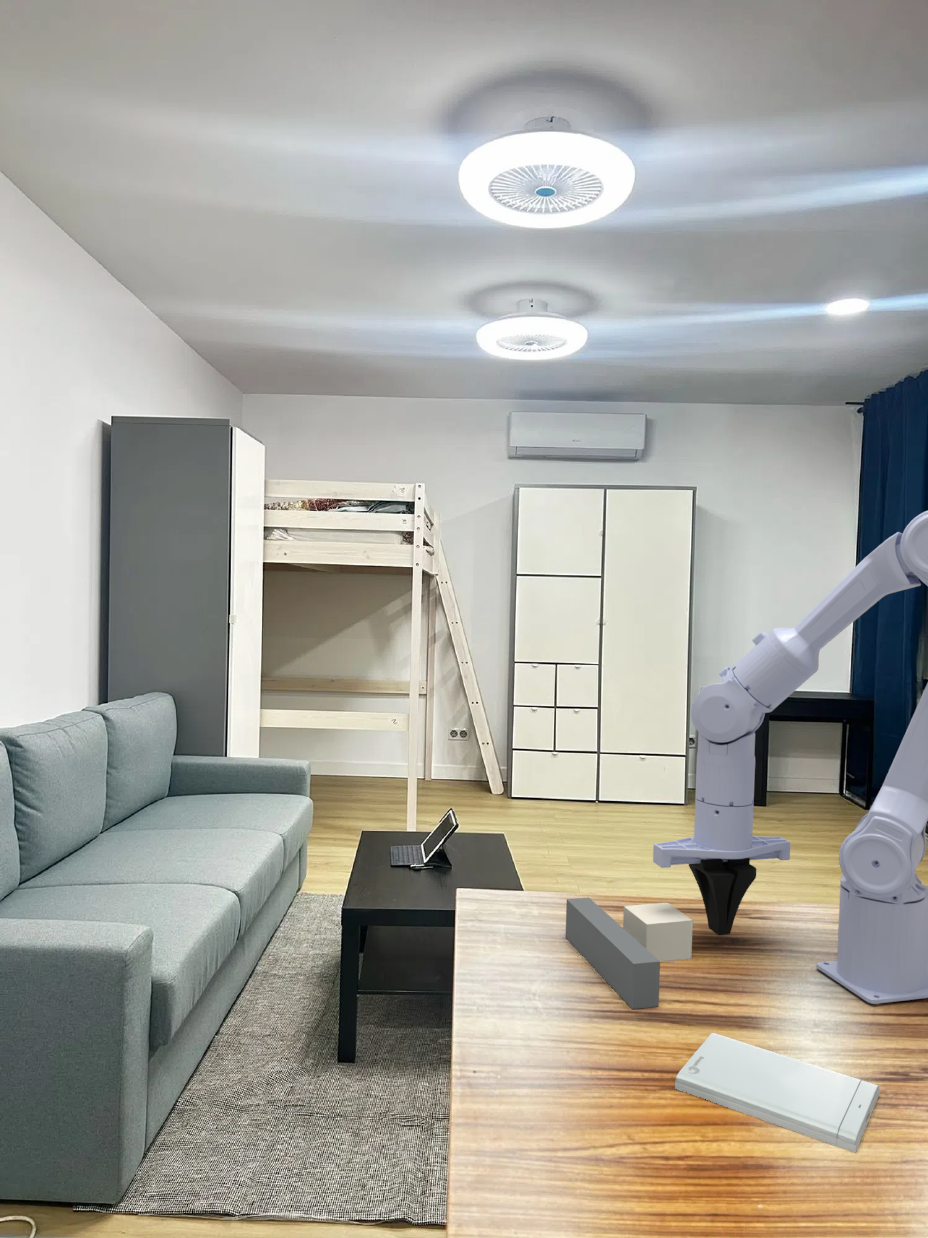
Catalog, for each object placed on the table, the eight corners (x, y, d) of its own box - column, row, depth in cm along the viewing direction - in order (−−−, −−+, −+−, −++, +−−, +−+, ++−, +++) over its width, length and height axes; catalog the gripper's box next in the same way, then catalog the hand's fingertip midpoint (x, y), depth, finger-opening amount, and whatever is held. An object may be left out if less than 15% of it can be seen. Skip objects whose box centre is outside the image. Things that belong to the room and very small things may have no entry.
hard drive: (674, 1075, 66) (856, 1137, 59) (712, 1030, 73) (879, 1080, 66) (674, 1097, 66) (855, 1161, 59) (712, 1050, 73) (878, 1103, 66)
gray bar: (588, 935, 95) (589, 897, 94) (658, 1006, 79) (660, 961, 79) (565, 937, 94) (566, 899, 94) (632, 1009, 78) (633, 964, 78)
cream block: (666, 940, 94) (667, 902, 94) (691, 960, 89) (692, 920, 89) (622, 944, 93) (623, 906, 93) (645, 965, 88) (646, 924, 88)
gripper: (764, 788, 98) (759, 912, 98) (641, 793, 94) (637, 921, 95) (804, 804, 91) (799, 937, 92) (673, 810, 87) (668, 948, 88)
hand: (719, 931), depth 93 cm, fingers closed
